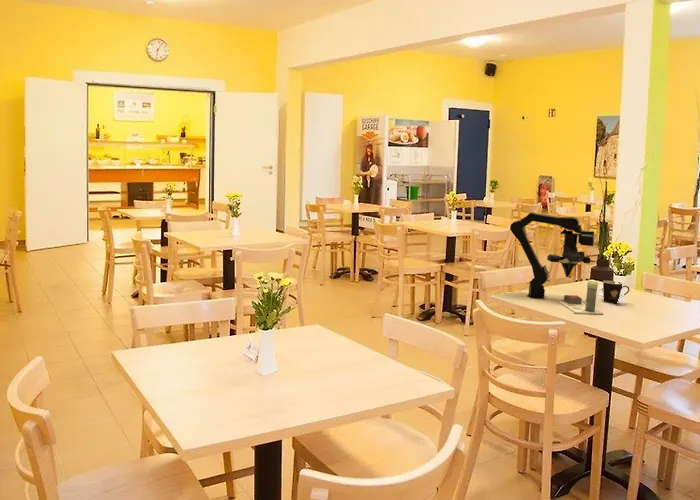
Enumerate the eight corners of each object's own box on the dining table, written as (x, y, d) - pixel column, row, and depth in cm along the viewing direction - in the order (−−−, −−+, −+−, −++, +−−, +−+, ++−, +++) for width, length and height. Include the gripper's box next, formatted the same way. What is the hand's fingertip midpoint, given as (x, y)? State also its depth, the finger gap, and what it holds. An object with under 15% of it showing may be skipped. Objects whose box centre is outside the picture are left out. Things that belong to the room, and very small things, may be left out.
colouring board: (574, 314, 312) (574, 312, 311) (556, 302, 334) (556, 300, 334) (603, 315, 313) (603, 313, 312) (582, 303, 335) (583, 301, 335)
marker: (587, 311, 314) (590, 282, 312) (583, 309, 318) (586, 280, 316) (596, 312, 314) (599, 283, 312) (592, 309, 318) (595, 281, 316)
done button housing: (568, 304, 328) (569, 297, 328) (563, 301, 334) (564, 295, 333) (581, 304, 328) (581, 298, 328) (576, 301, 334) (576, 295, 334)
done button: (570, 301, 329) (570, 296, 329) (567, 299, 333) (567, 295, 332) (577, 301, 329) (578, 297, 329) (574, 299, 333) (575, 295, 333)
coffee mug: (599, 303, 336) (601, 282, 335) (602, 300, 344) (604, 279, 342) (625, 307, 331) (628, 286, 329) (628, 303, 338) (630, 283, 337)
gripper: (556, 245, 323) (553, 279, 325) (596, 247, 324) (593, 281, 326) (548, 242, 334) (545, 275, 336) (587, 243, 335) (583, 276, 337)
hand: (567, 276), depth 334 cm, fingers closed
